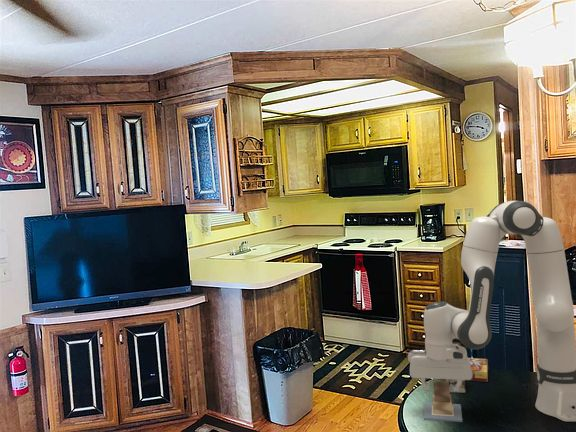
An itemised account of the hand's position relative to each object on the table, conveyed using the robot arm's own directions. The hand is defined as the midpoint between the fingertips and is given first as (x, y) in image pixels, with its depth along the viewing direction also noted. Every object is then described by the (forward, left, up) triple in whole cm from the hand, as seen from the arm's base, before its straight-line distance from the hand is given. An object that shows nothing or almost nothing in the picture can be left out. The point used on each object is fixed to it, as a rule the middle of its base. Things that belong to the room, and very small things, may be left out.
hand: (441, 390), depth 164 cm
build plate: (0, 0, -8) cm, 8 cm away
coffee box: (-5, -22, -8) cm, 24 cm away
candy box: (-12, -28, -6) cm, 32 cm away
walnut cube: (0, 0, -3) cm, 3 cm away
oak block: (0, 0, -7) cm, 7 cm away
